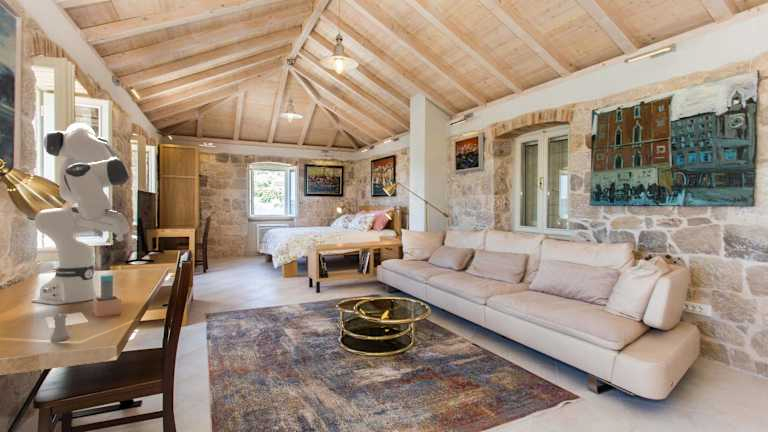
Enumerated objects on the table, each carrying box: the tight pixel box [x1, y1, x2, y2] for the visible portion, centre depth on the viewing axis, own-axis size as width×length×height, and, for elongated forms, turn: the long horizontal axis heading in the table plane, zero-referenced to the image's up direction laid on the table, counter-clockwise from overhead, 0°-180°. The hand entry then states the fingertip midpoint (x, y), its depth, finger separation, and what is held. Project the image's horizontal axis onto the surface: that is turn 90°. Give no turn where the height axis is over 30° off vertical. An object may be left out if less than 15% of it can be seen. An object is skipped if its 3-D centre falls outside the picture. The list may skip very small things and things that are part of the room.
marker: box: [100, 274, 114, 301], centre depth 139 cm, size 4×4×14 cm
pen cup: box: [92, 295, 122, 318], centre depth 139 cm, size 7×7×6 cm
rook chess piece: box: [50, 312, 70, 344], centre depth 113 cm, size 4×4×8 cm
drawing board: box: [45, 311, 89, 329], centre depth 130 cm, size 20×13×1 cm, turn 46°
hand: (110, 237), depth 142 cm, fingers open, 8 cm apart
